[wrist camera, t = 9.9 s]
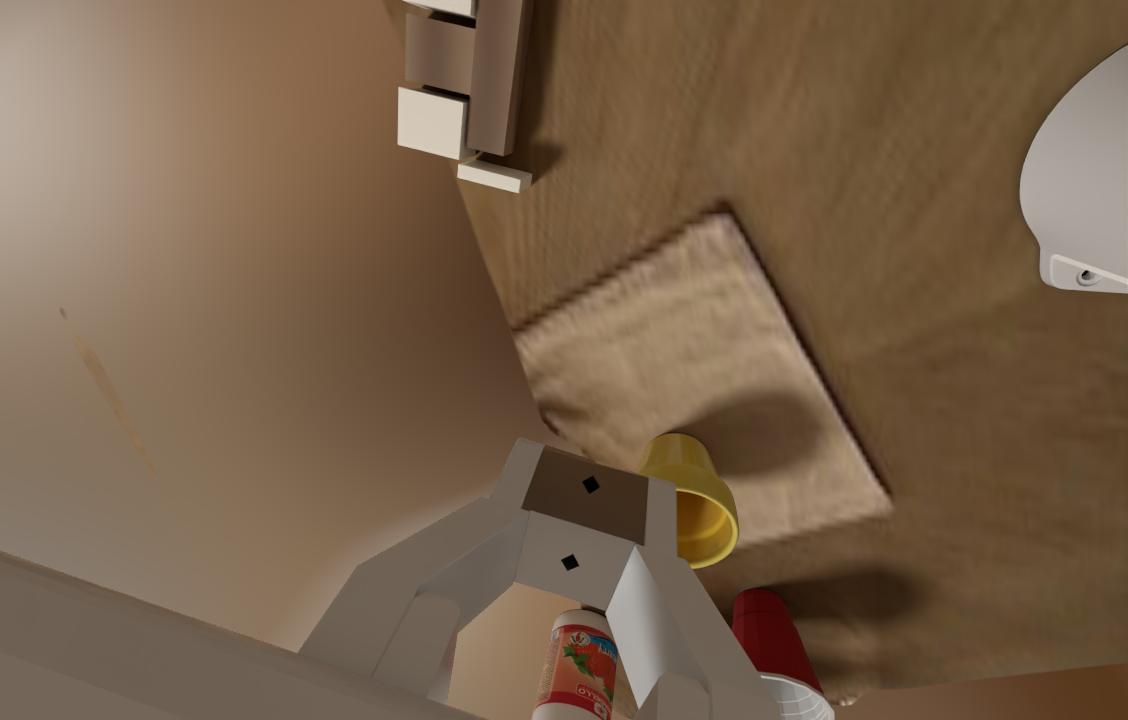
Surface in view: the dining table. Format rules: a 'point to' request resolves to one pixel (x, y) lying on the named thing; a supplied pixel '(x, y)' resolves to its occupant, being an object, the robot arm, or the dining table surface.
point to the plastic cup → (779, 655)
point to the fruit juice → (578, 669)
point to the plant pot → (694, 498)
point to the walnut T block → (477, 66)
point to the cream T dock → (449, 120)
